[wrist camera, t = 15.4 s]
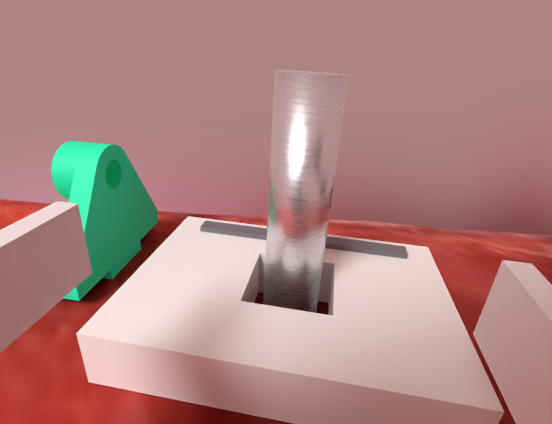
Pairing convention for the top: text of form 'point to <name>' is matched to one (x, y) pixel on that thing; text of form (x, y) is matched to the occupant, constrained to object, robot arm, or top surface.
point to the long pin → (301, 183)
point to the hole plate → (291, 334)
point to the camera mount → (104, 206)
